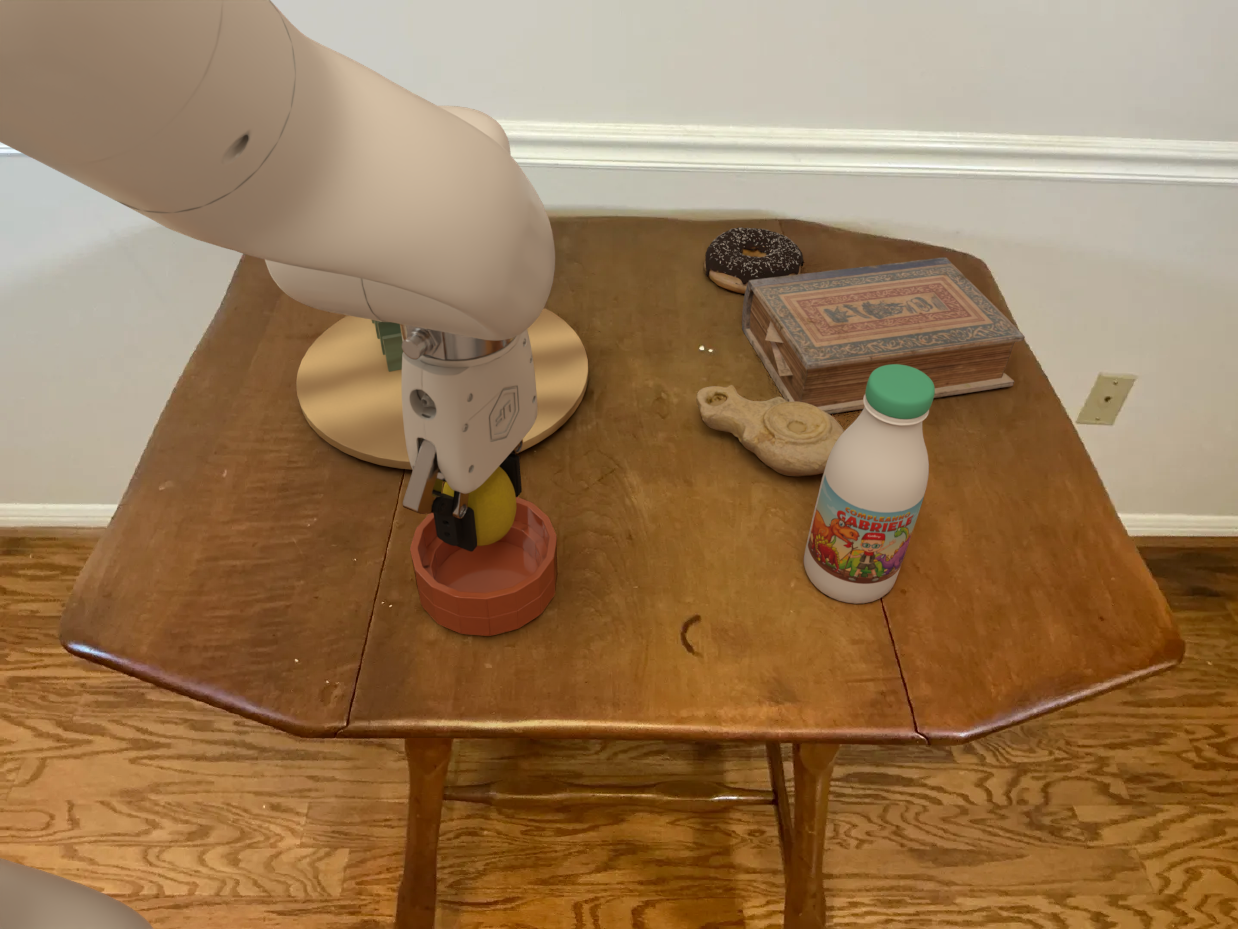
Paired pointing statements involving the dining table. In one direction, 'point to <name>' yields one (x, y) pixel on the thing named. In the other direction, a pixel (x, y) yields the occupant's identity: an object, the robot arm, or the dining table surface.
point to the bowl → (488, 575)
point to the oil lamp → (773, 429)
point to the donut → (750, 257)
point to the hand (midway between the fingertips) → (480, 514)
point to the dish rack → (372, 385)
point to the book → (876, 331)
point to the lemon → (491, 507)
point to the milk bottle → (872, 490)
